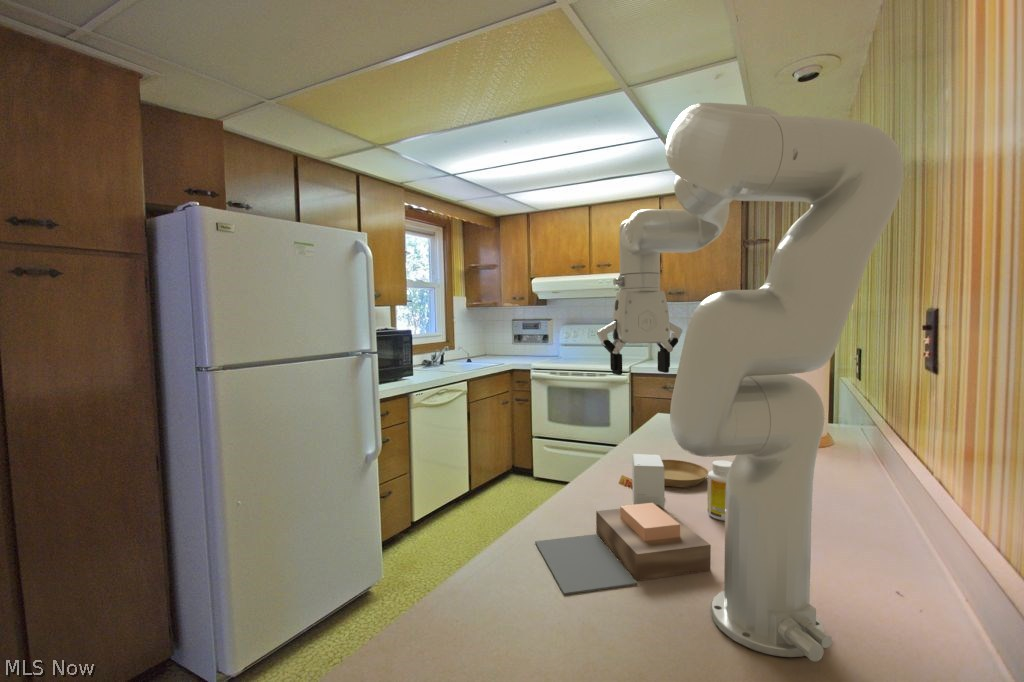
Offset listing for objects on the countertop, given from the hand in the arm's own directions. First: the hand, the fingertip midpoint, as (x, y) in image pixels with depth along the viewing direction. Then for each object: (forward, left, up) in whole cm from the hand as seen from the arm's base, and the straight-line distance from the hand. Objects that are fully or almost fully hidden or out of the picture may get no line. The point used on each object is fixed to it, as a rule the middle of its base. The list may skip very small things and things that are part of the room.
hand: (640, 373), depth 96 cm
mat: (-16, +18, -27) cm, 37 cm away
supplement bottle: (-6, -14, -28) cm, 31 cm away
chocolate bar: (+10, -5, -28) cm, 30 cm away
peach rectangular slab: (-15, +6, -23) cm, 28 cm away
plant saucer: (+15, -16, -28) cm, 35 cm away
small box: (-1, -1, -28) cm, 28 cm away
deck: (-15, +6, -27) cm, 32 cm away
